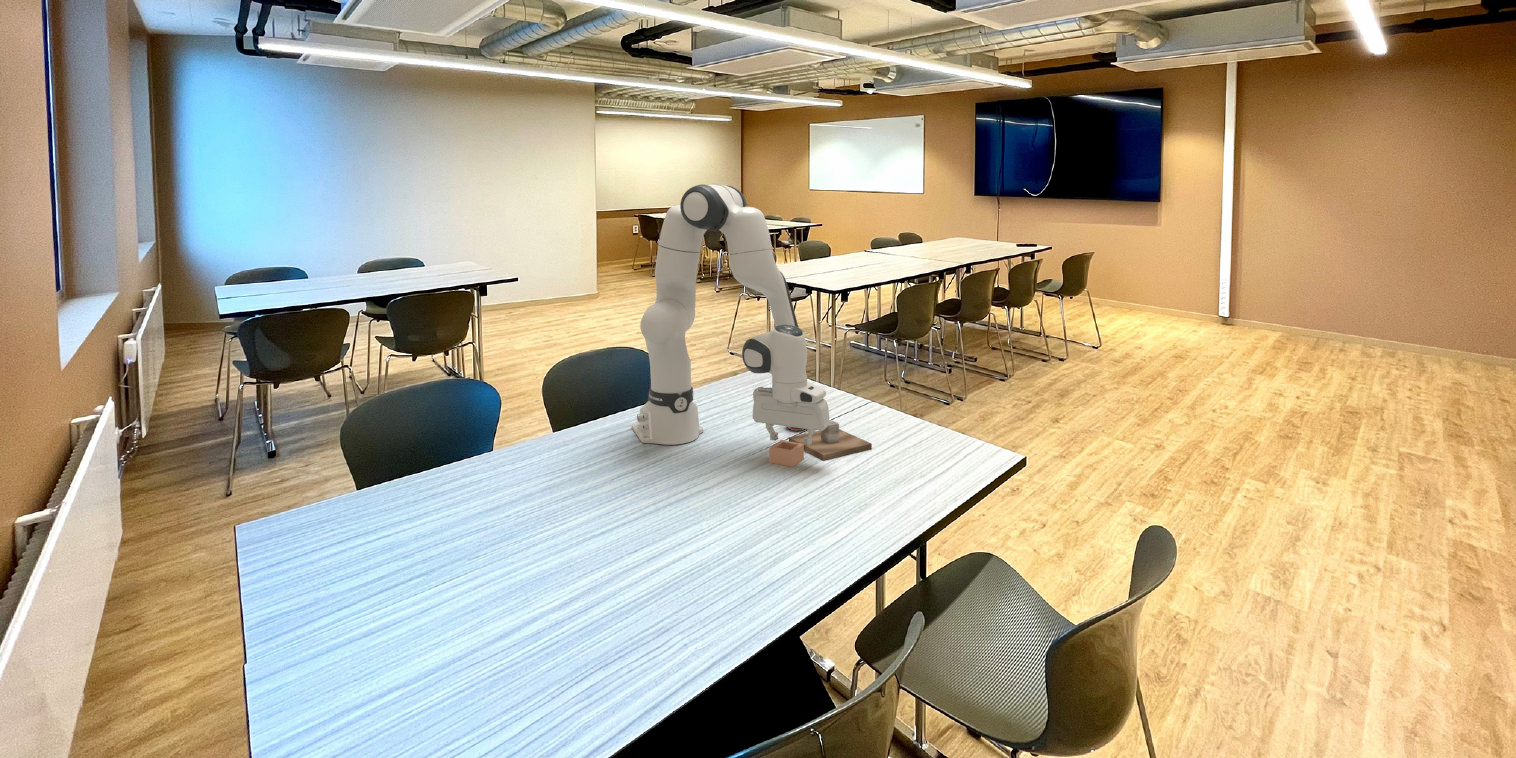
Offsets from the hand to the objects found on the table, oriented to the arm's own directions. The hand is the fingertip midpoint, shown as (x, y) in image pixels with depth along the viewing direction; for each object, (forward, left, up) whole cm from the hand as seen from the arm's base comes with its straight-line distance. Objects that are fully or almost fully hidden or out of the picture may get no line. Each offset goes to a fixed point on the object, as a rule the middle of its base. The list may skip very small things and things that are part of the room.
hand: (790, 442), depth 193 cm
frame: (0, -1, -5) cm, 5 cm away
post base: (-3, +15, -5) cm, 16 cm away
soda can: (-20, +16, -5) cm, 26 cm away
